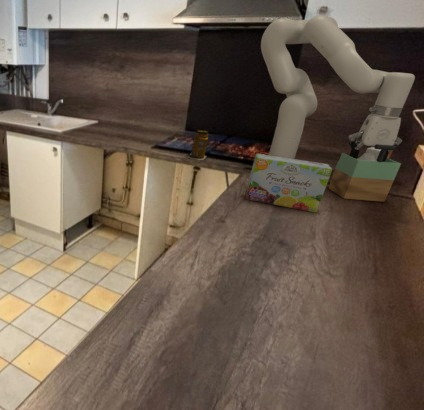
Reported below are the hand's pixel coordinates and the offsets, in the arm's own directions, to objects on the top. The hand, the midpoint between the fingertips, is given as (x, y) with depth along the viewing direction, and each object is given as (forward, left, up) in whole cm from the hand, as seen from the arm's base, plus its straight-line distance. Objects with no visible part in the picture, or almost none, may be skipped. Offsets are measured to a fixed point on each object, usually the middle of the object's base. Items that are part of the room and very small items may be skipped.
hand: (366, 160), depth 126 cm
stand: (0, -1, -13) cm, 13 cm away
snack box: (-33, -16, -13) cm, 39 cm away
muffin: (0, 0, -4) cm, 4 cm away
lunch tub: (0, -1, -4) cm, 5 cm away
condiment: (-50, +34, -13) cm, 62 cm away
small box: (+17, +19, -13) cm, 28 cm away
